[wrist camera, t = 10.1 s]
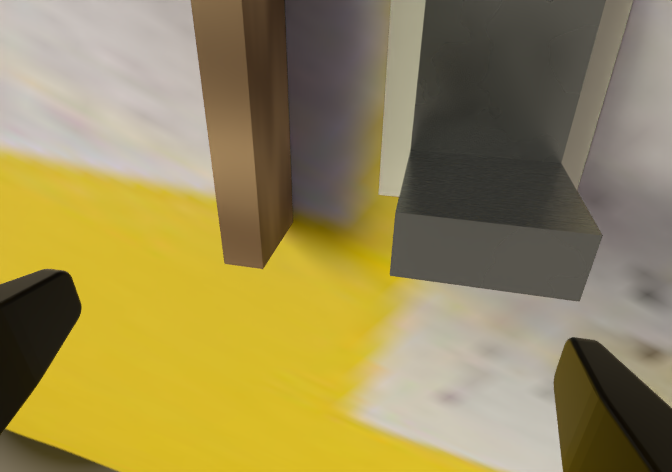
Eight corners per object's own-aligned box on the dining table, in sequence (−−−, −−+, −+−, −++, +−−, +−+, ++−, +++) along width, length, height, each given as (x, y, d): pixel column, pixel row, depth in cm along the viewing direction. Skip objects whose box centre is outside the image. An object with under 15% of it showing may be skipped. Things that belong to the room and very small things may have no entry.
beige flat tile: (396, -78, 15) (395, -79, 15) (654, -80, 14) (657, -81, 13) (379, 192, 20) (378, 194, 20) (569, 211, 18) (570, 214, 18)
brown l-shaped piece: (225, -223, 14) (154, -285, 11) (805, -262, 11) (956, -361, 8) (260, 218, 22) (224, 263, 18) (614, 259, 19) (649, 321, 16)
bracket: (537, 193, 18) (579, 301, 12) (409, 180, 19) (389, 275, 13) (599, -46, 14) (705, -59, 8) (433, -48, 15) (420, -62, 9)
